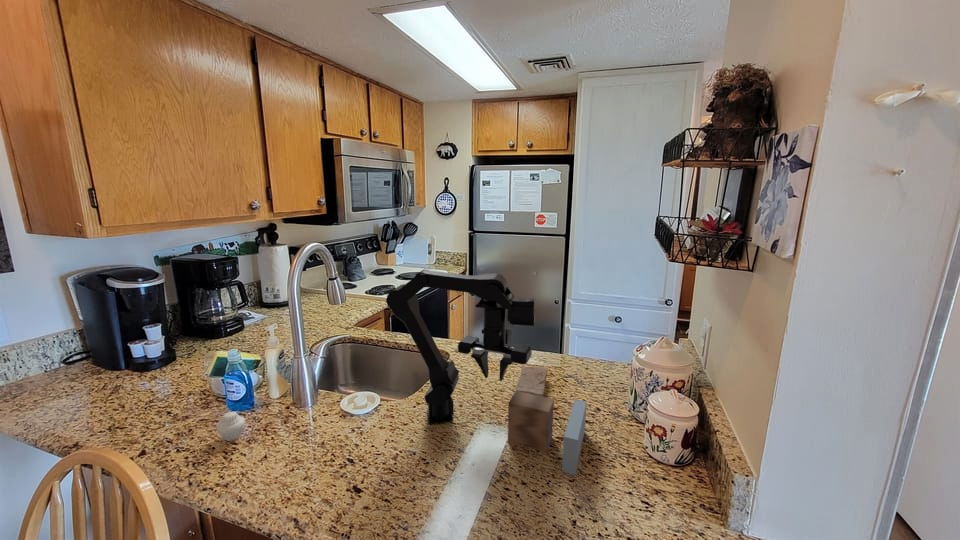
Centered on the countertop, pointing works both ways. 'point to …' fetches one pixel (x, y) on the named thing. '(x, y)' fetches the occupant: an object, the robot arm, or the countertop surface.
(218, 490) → the countertop surface
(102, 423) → the countertop surface
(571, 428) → the slate board
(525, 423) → the walnut box
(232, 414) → the grey rounded lump
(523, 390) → the brick
